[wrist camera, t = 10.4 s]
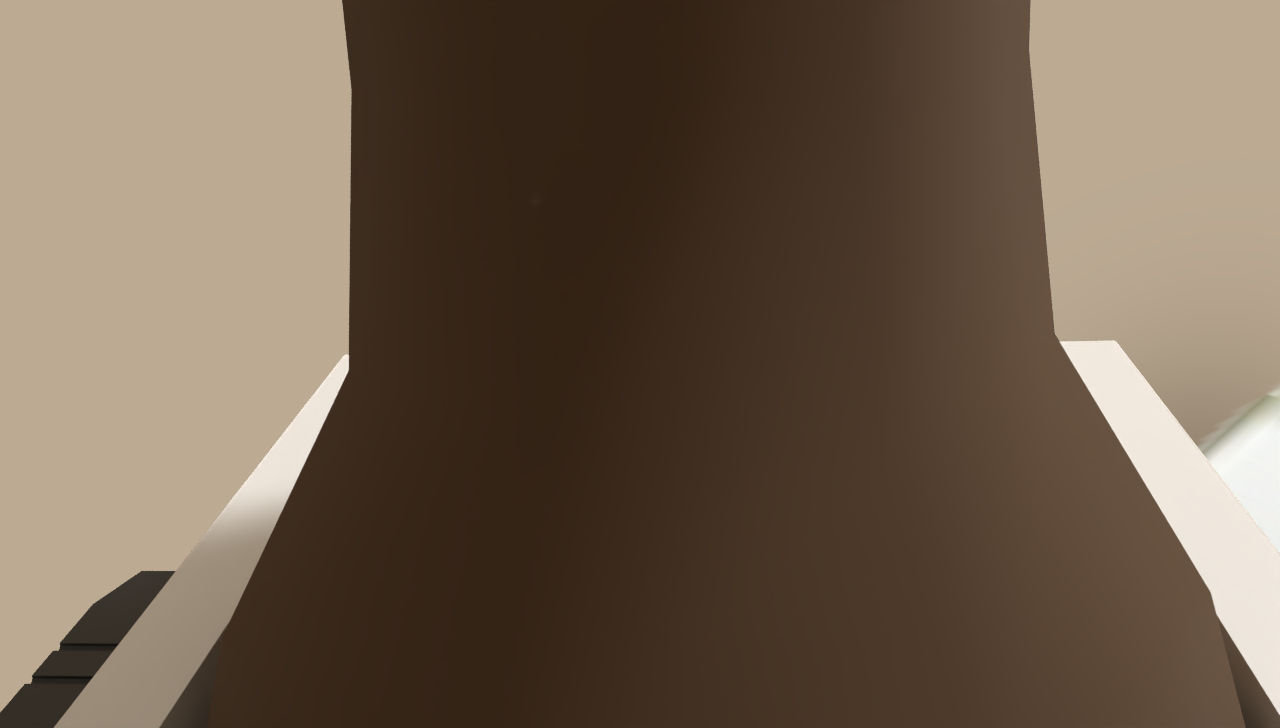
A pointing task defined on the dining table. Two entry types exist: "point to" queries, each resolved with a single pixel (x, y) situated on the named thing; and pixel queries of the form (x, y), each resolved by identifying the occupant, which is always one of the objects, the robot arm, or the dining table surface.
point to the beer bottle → (710, 395)
